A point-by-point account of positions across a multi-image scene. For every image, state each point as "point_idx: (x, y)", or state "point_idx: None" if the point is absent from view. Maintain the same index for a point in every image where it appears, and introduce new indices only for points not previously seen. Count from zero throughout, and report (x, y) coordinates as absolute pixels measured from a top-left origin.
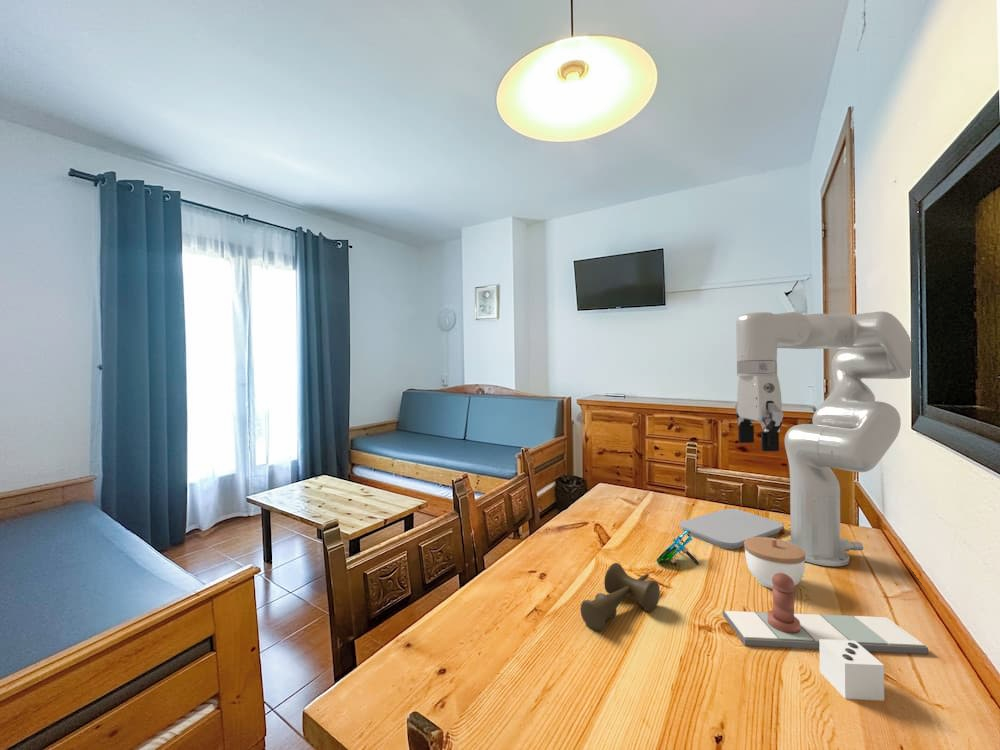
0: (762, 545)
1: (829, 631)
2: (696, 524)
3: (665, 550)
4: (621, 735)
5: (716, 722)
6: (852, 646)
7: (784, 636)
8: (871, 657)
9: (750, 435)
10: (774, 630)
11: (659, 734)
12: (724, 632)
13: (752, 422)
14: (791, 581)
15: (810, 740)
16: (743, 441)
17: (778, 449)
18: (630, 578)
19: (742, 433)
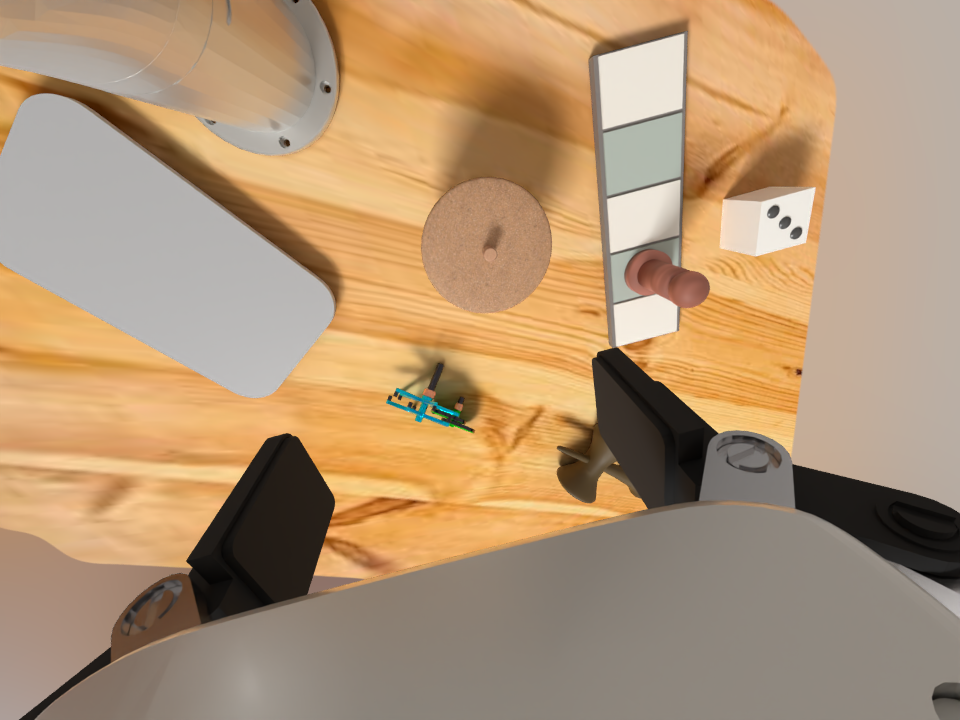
0: (490, 277)
1: (656, 202)
2: (237, 362)
3: (446, 426)
4: (788, 438)
5: (783, 371)
6: (776, 214)
7: None
8: (798, 196)
9: (285, 490)
10: None
11: (790, 413)
12: (647, 347)
13: (196, 600)
14: (707, 281)
15: (810, 295)
16: (324, 490)
17: (617, 350)
18: (599, 472)
19: (308, 548)
